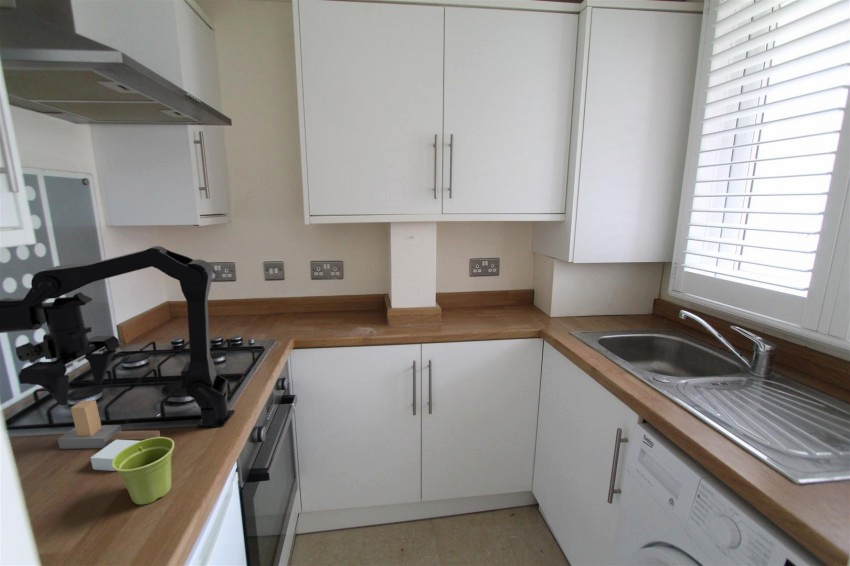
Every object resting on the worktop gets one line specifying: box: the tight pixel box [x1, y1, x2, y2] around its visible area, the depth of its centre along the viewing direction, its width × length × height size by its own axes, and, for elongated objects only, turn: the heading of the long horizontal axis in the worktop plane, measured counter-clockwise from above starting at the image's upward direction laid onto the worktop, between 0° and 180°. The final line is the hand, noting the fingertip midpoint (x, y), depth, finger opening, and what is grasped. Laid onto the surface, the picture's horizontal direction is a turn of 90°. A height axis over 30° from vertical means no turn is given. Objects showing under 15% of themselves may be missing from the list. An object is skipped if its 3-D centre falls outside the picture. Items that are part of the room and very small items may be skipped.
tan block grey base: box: [57, 399, 123, 450], centre depth 88 cm, size 5×10×10 cm, turn 91°
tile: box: [90, 440, 140, 472], centre depth 82 cm, size 6×6×3 cm
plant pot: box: [112, 436, 175, 505], centre depth 72 cm, size 9×9×9 cm
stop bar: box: [109, 430, 161, 443], centre depth 87 cm, size 3×9×2 cm, turn 91°
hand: (82, 393), depth 86 cm, fingers open, 9 cm apart
